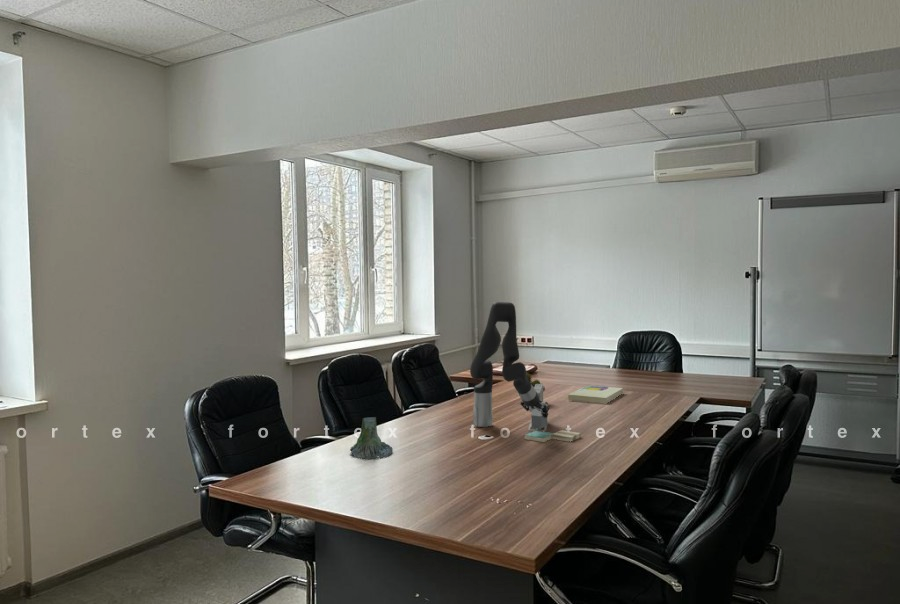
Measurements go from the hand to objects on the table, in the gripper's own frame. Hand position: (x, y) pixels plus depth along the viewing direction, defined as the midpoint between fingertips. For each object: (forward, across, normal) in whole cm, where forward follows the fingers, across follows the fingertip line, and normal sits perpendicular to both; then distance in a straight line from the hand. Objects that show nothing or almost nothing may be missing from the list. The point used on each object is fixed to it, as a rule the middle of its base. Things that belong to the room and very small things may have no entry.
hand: (541, 415), depth 299 cm
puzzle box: (+81, +19, -66) cm, 107 cm away
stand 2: (+11, -10, +4) cm, 15 cm away
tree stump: (-37, +50, +52) cm, 81 cm away
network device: (+20, +12, -5) cm, 23 cm away
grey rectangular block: (+2, 0, +5) cm, 5 cm away
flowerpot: (+53, +42, -39) cm, 78 cm away
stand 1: (+6, 0, +9) cm, 11 cm away
